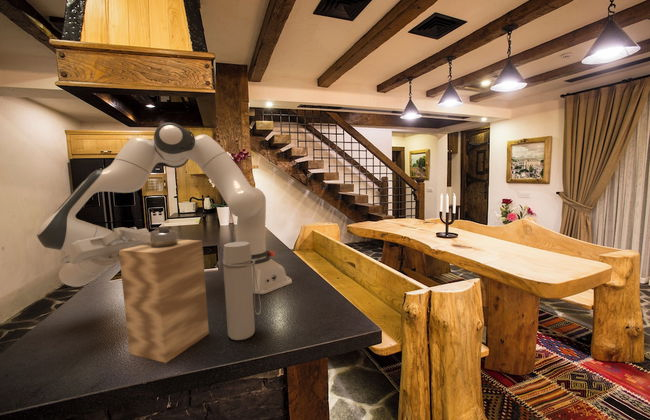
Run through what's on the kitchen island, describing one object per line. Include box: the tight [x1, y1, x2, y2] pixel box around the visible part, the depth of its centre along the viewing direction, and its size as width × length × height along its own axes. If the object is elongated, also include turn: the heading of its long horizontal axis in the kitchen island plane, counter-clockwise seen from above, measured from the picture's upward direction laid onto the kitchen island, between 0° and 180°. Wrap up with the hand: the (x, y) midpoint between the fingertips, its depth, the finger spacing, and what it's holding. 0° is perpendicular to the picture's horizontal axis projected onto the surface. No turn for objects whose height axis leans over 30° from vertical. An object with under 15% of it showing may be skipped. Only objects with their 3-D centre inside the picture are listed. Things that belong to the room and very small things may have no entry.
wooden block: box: [119, 239, 210, 364], centre depth 78 cm, size 12×14×26 cm
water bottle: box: [222, 241, 262, 341], centre depth 81 cm, size 9×8×25 cm
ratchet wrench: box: [113, 226, 179, 247], centre depth 78 cm, size 20×6×4 cm, turn 69°
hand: (127, 230), depth 80 cm, fingers closed on ratchet wrench, 2 cm apart
